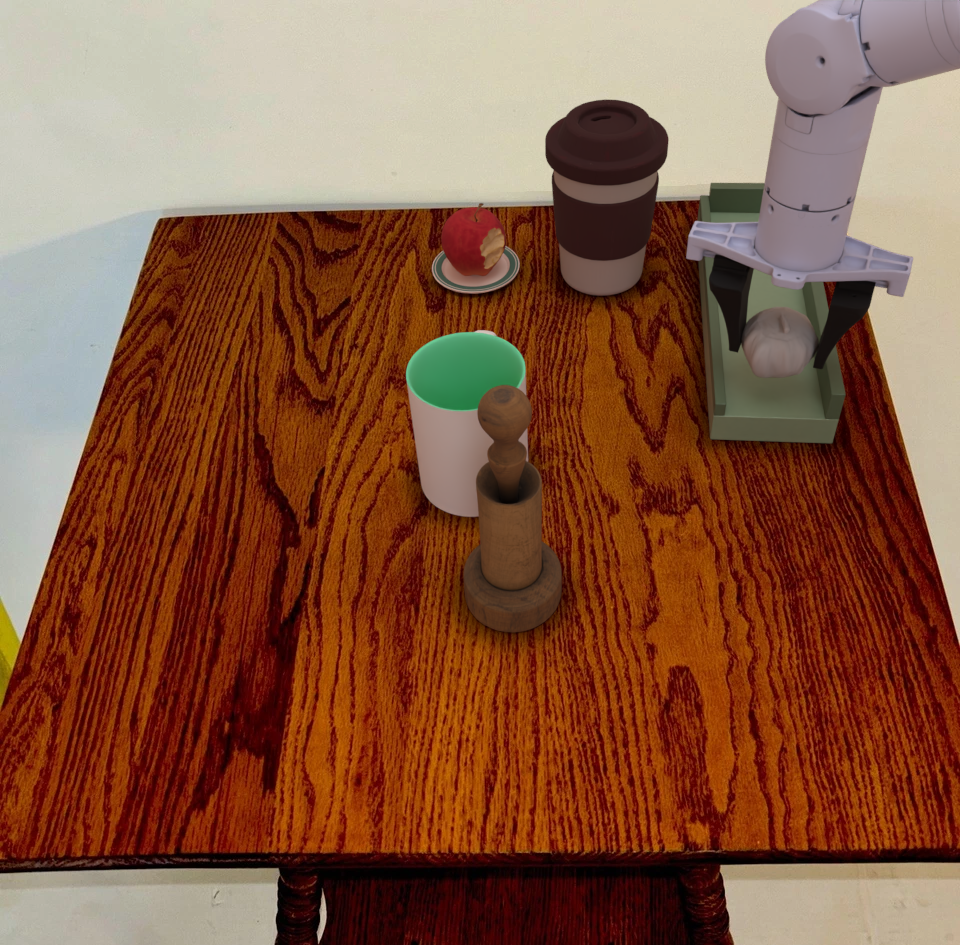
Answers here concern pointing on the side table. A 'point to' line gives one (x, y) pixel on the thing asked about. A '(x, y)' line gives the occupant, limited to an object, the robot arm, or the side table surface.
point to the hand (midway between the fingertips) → (777, 351)
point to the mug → (457, 411)
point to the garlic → (779, 342)
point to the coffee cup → (604, 192)
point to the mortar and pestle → (510, 525)
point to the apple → (474, 253)
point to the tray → (730, 381)
